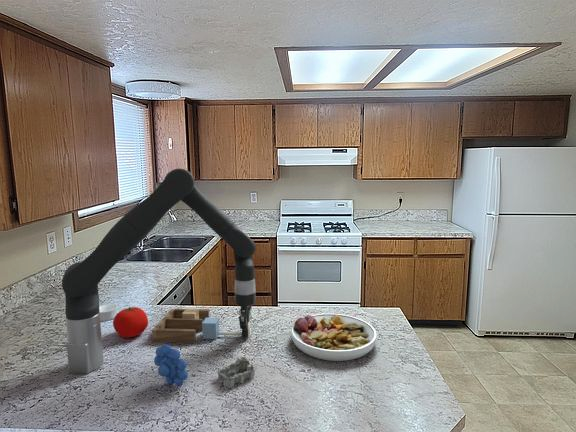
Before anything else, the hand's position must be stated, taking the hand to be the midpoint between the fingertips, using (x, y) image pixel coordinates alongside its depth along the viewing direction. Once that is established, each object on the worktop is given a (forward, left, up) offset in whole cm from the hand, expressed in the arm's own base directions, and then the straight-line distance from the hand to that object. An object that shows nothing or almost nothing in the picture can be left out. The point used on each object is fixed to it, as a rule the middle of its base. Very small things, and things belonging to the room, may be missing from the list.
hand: (245, 335), depth 140 cm
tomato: (0, +43, -1) cm, 43 cm away
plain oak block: (+9, +24, -1) cm, 25 cm away
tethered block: (0, +7, -1) cm, 7 cm away
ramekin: (+15, +61, -1) cm, 63 cm away
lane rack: (+5, +25, -1) cm, 25 cm away
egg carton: (-26, -2, -1) cm, 26 cm away
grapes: (-31, +17, -1) cm, 36 cm away
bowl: (-2, -32, -1) cm, 32 cm away
